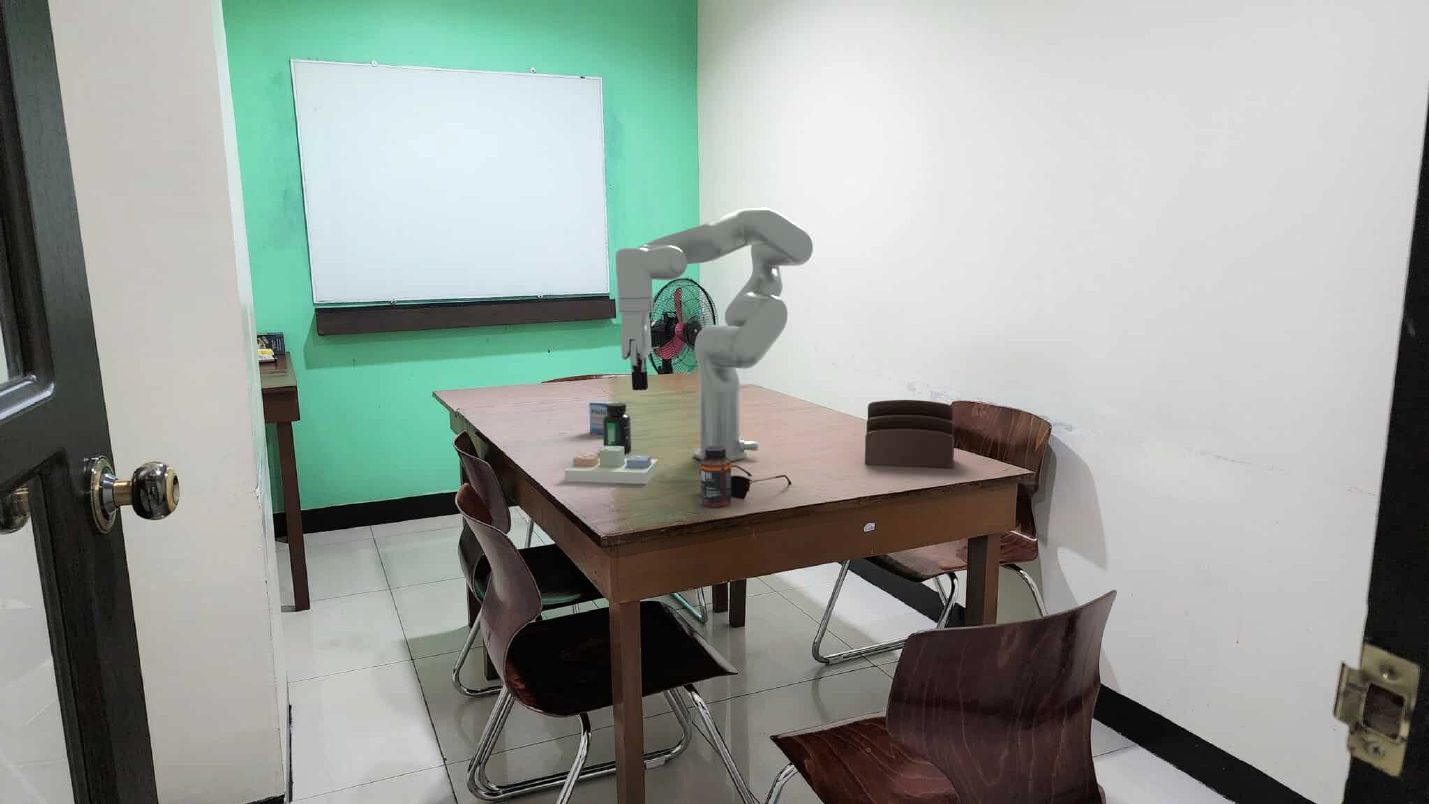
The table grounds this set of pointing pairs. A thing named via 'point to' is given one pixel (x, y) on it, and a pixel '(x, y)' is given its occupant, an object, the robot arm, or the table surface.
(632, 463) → the blue pull-out drawer
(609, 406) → the supplement bottle
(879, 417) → the letter holder
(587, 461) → the pink three-dot die
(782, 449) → the table surface
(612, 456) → the pale green cube
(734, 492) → the sunglasses
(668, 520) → the table surface
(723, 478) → the supplement bottle
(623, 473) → the board
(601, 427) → the medicine box
